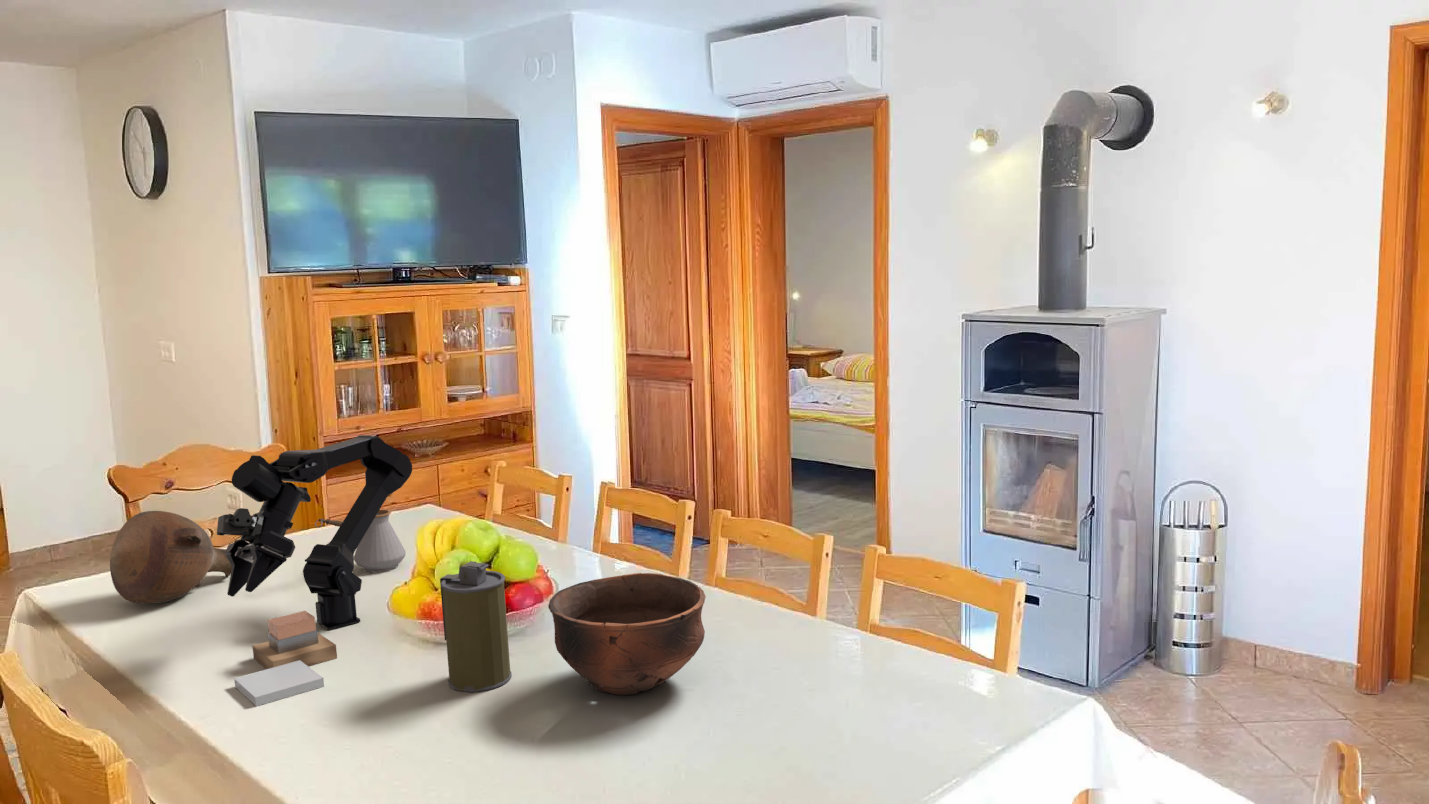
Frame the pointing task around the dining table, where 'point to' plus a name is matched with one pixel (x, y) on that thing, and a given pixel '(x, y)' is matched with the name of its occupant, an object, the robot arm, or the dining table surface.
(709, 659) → the dining table surface
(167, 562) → the jug
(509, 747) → the dining table surface
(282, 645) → the housing
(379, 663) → the dining table surface
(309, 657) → the walnut plinth
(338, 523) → the coffee pot
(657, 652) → the bowl
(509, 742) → the dining table surface
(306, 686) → the ceramic tile
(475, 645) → the canister
